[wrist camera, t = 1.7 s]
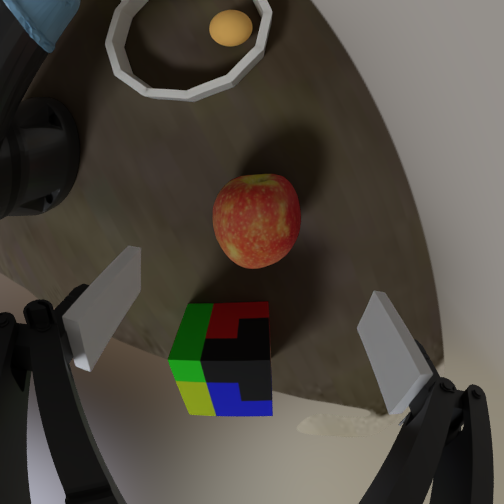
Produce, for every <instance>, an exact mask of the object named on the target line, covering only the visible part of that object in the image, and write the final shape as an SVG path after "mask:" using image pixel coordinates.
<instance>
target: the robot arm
mask: <svg viewBox="0 0 504 504" xmlns="http://www.w3.org/2000/svg"><path fill="white" fill-rule="evenodd" d="M80 1H81V0H0V220H1V219H2V218H4V217H6V216H27V215H39V214H42V213H44V212H46V211H48V210H50V209H52V208H54V207H56V206H57V205H59V204H60V203H61V202H62V201H63V200H64V199H65V198H66V196H67V195H68V193H69V192H70V190H71V188H72V186H73V184H74V181H75V178H76V175H77V171H78V165H79V154H80V147H79V137H78V132H77V128H76V125H75V122H74V119H73V117H72V115H71V114H70V112H69V111H68V109H67V108H66V107H65V106H64V105H63V104H62V103H61V102H59V101H58V100H56V99H53V98H49V97H34V98H29V99H26V100H24V101H22V102H21V100H22V98H23V96H24V95H25V93H26V91H27V89H28V87H29V85H30V83H31V82H32V80H33V78H34V76H35V75H36V73H37V71H38V70H39V68H40V66H41V65H42V63H43V62H44V60H45V58H46V57H47V55H48V54H49V53H52V52H53V50H54V49H55V43H56V42H57V40H58V39H59V37H60V36H61V34H62V33H63V31H64V30H65V28H66V27H67V25H68V24H69V23H70V21H71V20H72V18H73V17H74V16H75V14H76V13H77V11H78V9H79V6H80ZM140 291H141V248H139V247H134V246H129V245H128V246H127V247H126V248H125V249H124V250H123V251H122V252H121V253H120V254H119V255H118V256H117V257H116V258H115V259H114V261H113V262H112V263H111V264H110V265H109V266H108V267H107V268H106V269H105V270H104V271H103V272H102V273H101V274H100V275H99V276H98V277H97V278H96V279H95V280H94V281H93V283H92V284H91V285H86V284H82V285H80V286H78V287H76V288H74V289H73V290H72V291H71V292H70V293H69V296H67V297H66V298H65V299H64V301H62V302H61V303H60V304H59V305H58V306H57V307H56V309H55V310H53V306H52V304H51V303H50V302H49V301H47V300H35V301H32V302H30V303H28V304H27V305H26V306H25V308H24V311H23V313H24V317H25V320H26V323H27V324H21V323H20V324H19V323H16V320H15V317H14V316H13V315H12V314H11V313H7V312H3V313H0V504H31V499H30V492H29V483H28V470H27V442H26V441H27V435H26V434H27V409H28V396H29V386H30V377H31V371H32V372H33V379H34V385H35V391H36V396H37V402H38V407H39V411H40V416H41V420H42V424H43V428H44V432H45V436H46V439H47V443H48V446H49V449H50V452H51V456H52V459H53V462H54V465H55V468H56V470H57V473H58V476H59V479H60V481H61V484H62V486H63V489H64V491H65V494H66V499H65V503H66V504H127V503H126V502H125V500H124V498H123V496H122V495H121V493H120V491H119V489H118V487H117V486H116V484H115V482H114V480H113V478H112V476H111V474H110V472H109V470H108V468H107V466H106V464H105V462H104V460H103V458H102V455H101V453H100V451H99V448H98V447H97V444H96V442H95V439H94V437H93V434H92V432H91V429H90V427H89V424H88V421H87V419H86V416H85V413H84V411H83V408H82V405H81V402H80V398H79V395H78V392H77V389H76V386H75V383H74V379H73V375H72V372H71V368H70V365H69V363H70V361H71V360H72V358H73V359H74V362H75V364H76V366H77V367H79V368H82V369H84V370H87V371H90V372H91V371H92V369H93V367H94V365H95V364H96V362H97V360H98V358H99V357H100V355H101V353H102V352H103V350H104V348H105V347H106V345H107V343H108V342H109V340H110V338H111V337H112V335H113V334H114V332H115V330H116V329H117V327H118V325H119V324H120V322H121V321H122V319H123V318H124V316H125V314H126V313H127V311H128V310H129V308H130V307H131V305H132V304H133V302H134V300H135V299H136V297H137V296H138V294H139V293H140ZM357 330H358V332H359V335H360V337H361V340H362V342H363V345H364V347H365V350H366V352H367V355H368V357H369V360H370V363H371V365H372V368H373V371H374V373H375V376H376V379H377V381H378V384H379V387H380V390H381V393H382V395H383V398H384V401H385V404H386V407H387V410H388V413H389V414H399V413H402V412H403V411H404V410H405V409H406V408H407V407H408V405H409V407H410V410H411V411H410V412H409V414H408V415H407V416H406V417H405V418H404V419H403V420H402V421H401V422H400V424H399V425H401V424H402V423H403V425H402V428H401V430H400V432H399V434H398V436H397V438H396V440H395V442H394V444H393V446H392V448H391V450H390V452H389V454H388V456H387V458H386V460H385V461H384V463H383V465H382V467H381V469H380V470H379V472H378V474H377V475H376V477H375V479H374V480H373V482H372V484H371V485H370V487H369V488H368V490H367V492H366V493H365V495H364V496H363V498H362V499H361V501H360V502H359V504H423V502H424V500H425V497H426V495H427V493H428V490H429V488H430V485H431V483H432V480H433V486H432V493H431V498H430V503H429V504H493V488H494V482H493V481H494V473H493V450H492V438H491V428H490V421H489V415H488V407H487V401H486V396H485V393H484V392H483V390H482V389H481V388H480V387H479V386H477V385H473V384H472V385H470V386H469V387H468V388H467V389H466V390H465V391H460V390H456V387H455V385H454V384H453V383H452V382H451V381H450V380H449V379H447V378H444V377H440V376H439V374H438V372H437V370H436V369H435V367H434V365H433V363H432V361H431V360H430V358H429V356H428V354H426V351H425V349H424V348H423V346H422V345H421V344H420V343H419V342H418V341H417V340H415V339H413V337H412V335H411V334H410V332H409V330H408V329H407V327H406V325H405V324H404V322H403V321H402V319H401V317H400V316H399V314H398V312H397V311H396V309H395V308H394V306H393V304H392V303H391V301H390V300H389V298H388V297H387V295H386V294H385V292H379V291H373V294H372V296H371V298H370V301H369V303H368V305H367V307H366V310H365V312H364V314H363V316H362V318H361V320H360V322H359V325H358V327H357ZM463 424H464V427H463V430H462V431H461V426H462V425H463ZM433 477H434V478H433Z"/></svg>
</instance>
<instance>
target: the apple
mask: <svg viewBox="0 0 504 504" xmlns="http://www.w3.org/2000/svg"><path fill="white" fill-rule="evenodd" d="M300 224H301V212H300V205H299V200H298V196H297V194H296V191H295V189H294V188H293V186H292V184H291V183H290V182H289V181H288V180H287V179H286V178H285V177H283V176H280V175H276V174H257V175H246V176H240V177H237V178H235V179H232V180H231V181H229V182H228V183H227V184H226V185H225V186H224V187H223V188H222V189H221V191H220V192H219V193H218V195H217V198H216V200H215V203H214V206H213V227H214V231H215V235H216V238H217V240H218V242H219V244H220V246H221V248H222V249H223V251H224V252H225V254H226V255H227V256H228V257H229V258H230V259H231V260H232V261H233V262H234V263H236V264H237V265H239V266H242V267H244V268H250V269H256V268H262V267H266V266H269V265H271V264H274V263H276V262H277V261H279V260H280V259H282V258H283V257H284V256H285V255H287V253H288V252H289V251H290V250H291V248H292V247H293V245H294V243H295V242H296V240H297V237H298V234H299V230H300Z"/></svg>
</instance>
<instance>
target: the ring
mask: <svg viewBox="0 0 504 504" xmlns="http://www.w3.org/2000/svg"><path fill="white" fill-rule="evenodd" d="M148 1H149V0H123V1H122V2H121V3H120V4H119V5H118V6H117V8H116V9H115V11H114V14H113V17H112V21H111V24H110V27H109V30H108V34H107V38H106V41H105V46H106V49H107V53H108V56H109V59H110V62H111V66H112V69H113V72H114V75H115V76H116V77H118V78H119V79H120V80H122V81H123V82H125V83H126V84H128V85H129V86H130V87H132V88H133V89H135V90H136V91H137V92H139V93H140V94H141V95H143V96H145V97H150V98H154V99H166V100H179V101H190V102H195V101H198V100H200V99H203V98H205V97H208V96H210V95H213V94H216V93H218V92H221V91H224V90H227V89H229V88H232V87H234V86H236V85H237V84H238V83H239V82H240V81H241V79H242V78H243V77H244V76H245V75H246V74H247V73H248V72H249V71H250V70H251V69H252V68H253V67H254V66H255V65H256V64H257V63H258V62H259V61H260V60H261V59H262V58H263V57H264V53H265V48H266V44H267V40H268V35H269V31H270V27H271V22H272V13H273V12H272V9H271V7H270V5H269V3H268V1H267V0H253V2H254V4H255V6H256V8H257V10H258V12H259V15H260V17H261V19H262V20H261V24H260V28H259V32H258V37H257V41H256V45H255V47H254V48H253V49H251V50H250V51H249V52H248V53H247V54H246V55H245V56H244V57H243V58H242V59H241V60H240V61H239V62H238V63H237V65H236V66H235V67H234V68H233V69H232V70H231V71H230V72H229V73H228V74H227V75H225V76H222V77H219V78H217V79H214V80H211V81H209V82H206V83H204V84H201V85H199V86H196V87H194V88H191V89H189V90H187V91H185V90H171V89H154V88H152V87H151V86H149V85H148V84H147V83H145V82H144V81H142V80H141V79H139V78H138V77H137V76H135V75H134V74H133V72H132V69H131V66H130V63H129V60H128V57H127V54H126V51H125V48H124V46H125V42H126V38H127V35H128V31H129V28H130V24H131V21H132V18H133V17H134V16H135V15H136V13H137V12H138V11H139V10H140V9H141V8H142V7H143V6H144V5H145V4H146V3H147V2H148Z"/></svg>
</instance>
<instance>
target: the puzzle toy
mask: <svg viewBox="0 0 504 504" xmlns="http://www.w3.org/2000/svg"><path fill="white" fill-rule="evenodd" d="M168 362H169V365H170V367H171V369H172V373H173V375H174V377H175V380H176V383H177V385H178V388H179V390H180V393H181V395H182V398H183V400H184V403H185V405H186V408H187V410H188V412H189V414H191V415H207V416H273V412H272V374H271V347H270V325H269V304H268V301H263V302H239V303H204V304H188V305H187V308H186V310H185V313H184V316H183V318H182V321H181V324H180V326H179V329H178V332H177V335H176V337H175V340H174V343H173V346H172V349H171V351H170V354H169V357H168Z"/></svg>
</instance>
